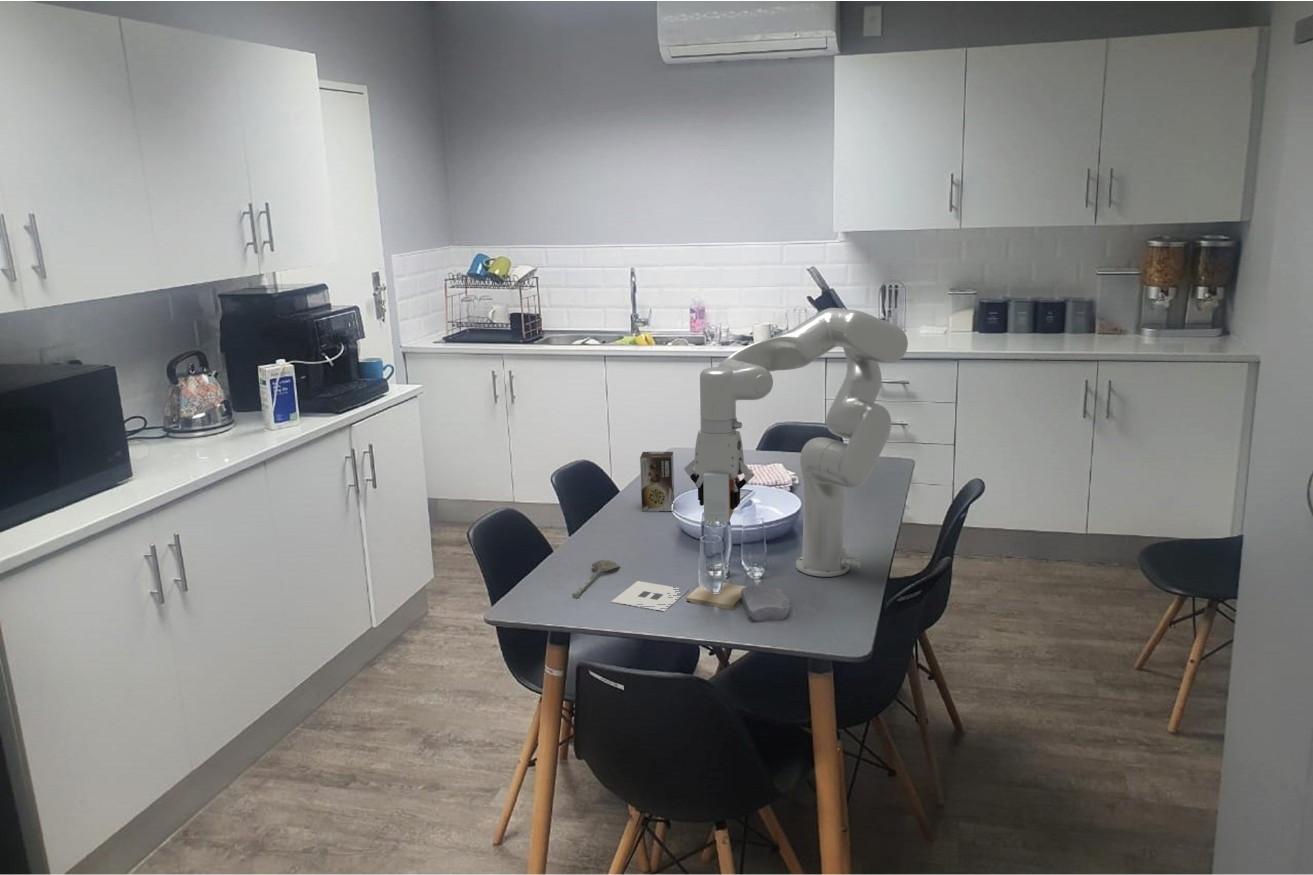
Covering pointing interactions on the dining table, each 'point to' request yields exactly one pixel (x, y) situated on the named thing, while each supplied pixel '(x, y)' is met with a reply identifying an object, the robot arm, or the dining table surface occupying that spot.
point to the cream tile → (647, 595)
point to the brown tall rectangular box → (657, 481)
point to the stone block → (764, 603)
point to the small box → (717, 497)
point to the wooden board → (718, 596)
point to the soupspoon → (599, 567)
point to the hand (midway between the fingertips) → (719, 505)
